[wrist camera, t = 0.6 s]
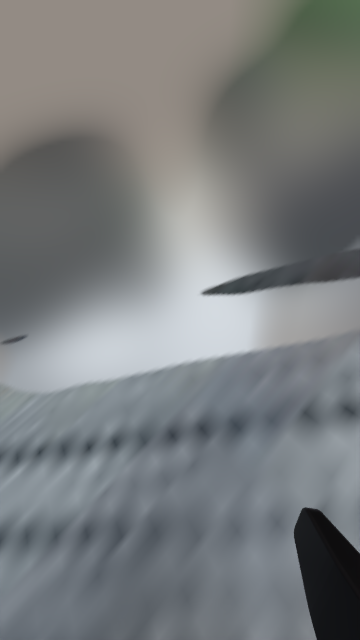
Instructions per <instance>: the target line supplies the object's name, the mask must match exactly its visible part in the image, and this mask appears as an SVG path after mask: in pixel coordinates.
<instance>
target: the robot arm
mask: <svg viewBox="0 0 360 640" xmlns="http://www.w3.org/2000/svg"><path fill="white" fill-rule="evenodd" d="M294 539H295V544H296V549H297V554H298V559H299V564H300V569H301V574H302V579H303V584H304V589H305V594H306V599H307V603H308V608H309V612H310V616H311V620H312V624H313V627H314V631H315V634H316V638H317V640H360V553H359V552H358V551H357V550H356V549H355V548H354V547H353V546H352V544H351V543H350V542H349V541H348V540H347V539H346V538H345V537H344V536H343V535H342V534H341V533H340V531H339V530H338V529H337V528H336V527H335V526H334V525H333V524H332V523H331V522H330V521H329V520H328V518H327V517H326V516H325V515H324V514H323V513H322V512H321V511H319V510H318V509H313V508H303V509H302V510H301V513H300V515H299V518H298V520H297V523H296V525H295V528H294Z"/></svg>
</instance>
